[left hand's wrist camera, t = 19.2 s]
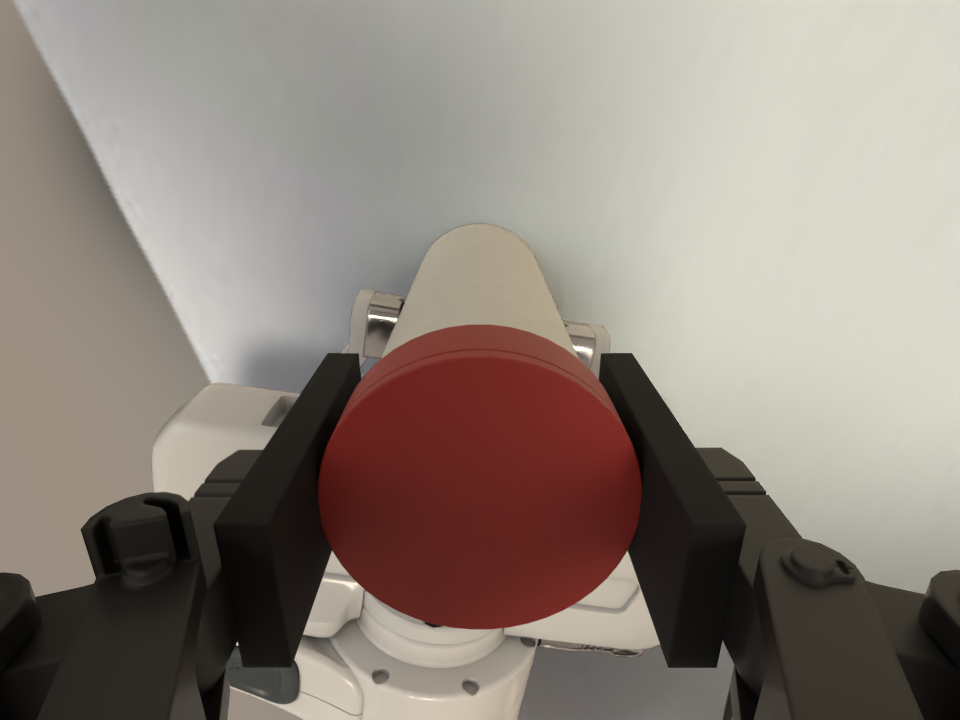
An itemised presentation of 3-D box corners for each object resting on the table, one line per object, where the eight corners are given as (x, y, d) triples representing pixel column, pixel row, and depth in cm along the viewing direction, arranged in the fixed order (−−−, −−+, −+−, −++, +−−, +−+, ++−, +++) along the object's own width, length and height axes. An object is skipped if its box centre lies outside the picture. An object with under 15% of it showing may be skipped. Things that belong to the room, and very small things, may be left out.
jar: (398, 312, 26) (299, 539, 12) (449, 200, 24) (407, 307, 10) (506, 361, 27) (536, 629, 13) (563, 257, 25) (675, 431, 11)
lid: (445, 607, 14) (441, 672, 12) (279, 423, 12) (247, 470, 10) (671, 489, 12) (699, 543, 11) (523, 263, 11) (531, 288, 9)
